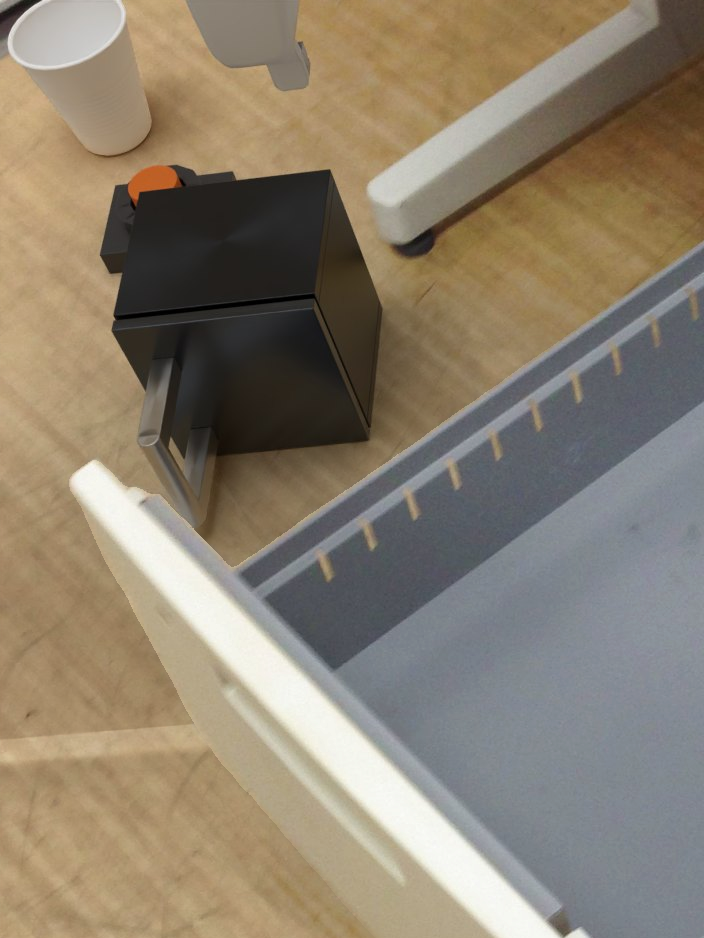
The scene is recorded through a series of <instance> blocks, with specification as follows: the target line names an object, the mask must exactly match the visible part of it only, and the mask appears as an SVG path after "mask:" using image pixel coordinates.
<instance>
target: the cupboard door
mask: <svg viewBox="0 0 704 938" xmlns="http://www.w3.org/2000/svg"><path fill="white" fill-rule="evenodd" d="M110 331H111V333H112V335H113V337H114V338H115V340H116V342H117V344H118V345H119V346H118V347H120V349H121V351H122V353H123V354H124V357H125V358H126V360H127V361H128V363H129V365H130V367H131V368H132V370H133V373H134V374H135V376H136V378H137V380H138V381H139V384H141V387H142V388H143V390H144V392H145V394H144V399H143V404H142V410H141V415H140V420H139V425H138V431H137V435H136V443H137V445H138V447H139V449H140V450H141V453H142V454H143V456H144V457H145V458H146V461H147V463H148V464H149V466H150V467H151V469H152V470H153V472H154V474H155V475H156V477H157V480H158V481H159V482H160V484H161V486H162V487H163V489H164V491H165V492H166V495H167V496H168V498H169V500H170V501H171V503H172V504H173V505H174V508H175V510H176V511H177V513H178V514H179V516H180V518H181V517H183V518H184V519H185V520H186V521H187V522H188V523H189V524H190V525H191V526H192V527H193V528H194V529H195V528H198V527H200V526H202V525H203V524H204V523H205V521H206V520H207V517H208V516H207V514H208V509H209V502H210V496H211V490H212V484H213V477H214V472H215V466H216V459H217V457H219V456H228V455H238V454H248V453H257V452H259V453H260V452H267V451H269V452H270V451H278V450H287V449H298V448H307V447H316V446H317V447H318V446H326V445H328V446H329V445H338V444H347V443H357V442H366V441H369V440H370V432H371V431H370V430H371V429H370V428H369V427H368V425H367V423H366V420H365V418H364V416H363V413H362V411H361V408H360V406H359V404H358V401H357V399H356V396H355V394H354V392H353V389H352V387H351V384H350V382H349V380H348V377H347V375H346V373H345V370H344V368H343V365H342V363H341V361H340V358H339V356H338V353H337V351H336V349H335V346H334V344H333V342H332V339H331V337H330V334H329V332H328V330H327V327H326V325H325V322H324V320H323V318H322V315H321V313H320V310H319V308H318V306H317V303H316V301H315V299H314V298H311V299H302V300H293V301H284V302H275V303H266V304H257V305H248V306H239V307H230V308H221V309H212V310H203V311H194V312H185V313H176V314H167V315H158V316H149V317H140V318H131V319H122V320H115V319H114V320H113V321H112V325H111V330H110ZM171 440H172V442H173V443H174V445H175V446H176V449H177V450H178V453H179V454H180V456H181V457H182V459H183V460H184V462H183V469H181V467H180V466H179V464H178V461H177V460H176V459H175V457H174V454H173V453H172V452H171V450H170V442H171ZM192 527H191V528H192Z"/></svg>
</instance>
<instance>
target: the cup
mask: <svg viewBox="0 0 704 938" xmlns="http://www.w3.org/2000/svg"><path fill="white" fill-rule="evenodd" d="M127 17H128V14H127V8H126V6H125V5H124V3H123V1H122V0H40V1H39V2H36V3H34V5H32V6H31V7H29V8H28V9H27V10H25V11H24V13H22V15H20V16H19V17H18V18H17V19H16V21H15V22H14V24H13V25H12V27H11V29H10V31H9V34H8V36H7V43H6V44H7V51H8V53H9V55H10V57H11V59H12V60H13V61H15V63H17V64H18V65H20V66H21V68H22V69H23V70H24V72H26V74H27V75H28V76H29V78H30V79H31V80H32V81H33V83H34V84H35V85H36V87H37V88H38V89H39V90H40V91H41V93H42V94H43V95H44V97H46V99H47V100H48V101H49V103H50V104H51V105H52V107H53V108H54V109H55V111H56V112H57V113H58V114H59V116H60V117H61V119H63V120H64V121H65V124H67V126H68V127H69V129H70V130H71V131H72V132H73V134H74V136H76V138H77V140H78V141H79V142H80V143H81V144H82V145H83V147H84V148H85V149H86V150H87V151H89V152H90V153H92V154H95V155H100V156H106V157H107V156H118V155H121V154H125V153H128V152H130V151H132V150H134V149H135V148H137V147H139V145H140V144H142V142H143V141H144V140H145V139H146V137H147V136H148V134H149V132H150V131H151V128H152V124H153V120H152V115H151V112H150V108H149V104H148V100H147V97H146V93H145V89H144V84H143V81H142V77H141V73H140V69H139V66H138V62H137V58H136V54H135V51H134V46H133V42H132V38H131V34H130V30H129V26H128V23H127V22H128V21H127Z"/></svg>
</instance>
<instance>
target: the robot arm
mask: <svg viewBox="0 0 704 938" xmlns="http://www.w3.org/2000/svg"><path fill="white" fill-rule="evenodd" d="M184 1H185V4H186V5H187V8H188V10H189V12H190V14H191V16H192V19H193V21H194V23H195V25H196V27H197V29H198V31H199V33H200V35H201V37H202V39H203V42H204V43H205V45H206V47H207V50H209V52H210V54H211V55H212V57H214V59H215V60H216V61H217V62H219V63H220V64H221V65H223V66H224V67H226V68H229V69H244V68H252V67H253V68H254V67H260V66H266V67H267V71H268V72H269V75H270V79H271V81H272V83H273V86H274V88H276V89H277V90H279V91H282V92H290V91H299V90H304V89H306V88H307V87H308V86H309V82H310V76H311V61H310V58H309V57H308V52H307V49H306V46H305V43H304V41H303V40H302V41H297V39H296V37H297V35H296V34H297V27H298V18H299V11H300V2H301V0H184Z"/></svg>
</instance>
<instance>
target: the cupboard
mask: <svg viewBox="0 0 704 938" xmlns="http://www.w3.org/2000/svg"><path fill="white" fill-rule="evenodd" d="M342 199H343V198H342V196H341V193H340V190H339V188H338V186H337V183H336V180H335V178H334V175H333V171H332V170H331V169H330V168H328V169H319V170H318V169H317V170H310V171H303V172H294V173H286V174H278V175H268V176H261V177H252V178H251V177H250V178H243V179H236V180H234V181H226V182H217V183H209V184H201V185H192V186H184V187H176V188H167V189H159V190H151V191H142V192H139V196H138V201H137V206H136V210H135V215H134V220H133V224H132V229H131V234H130V238H129V243H128V248H127V253H126V257H125V262H124V267H123V271H122V273H121V276H120V281H119V282H120V283H119V287H118V291H117V296H116V300H115V303H114V304H115V305H114V308H113V309H114V310H113V315H112V316H113V318H114V320H122V319H131V318H140V317H149V316H158V315H167V314H176V313H185V312H194V311H203V310H212V309H221V308H230V307H239V306H248V305H257V304H266V303H275V302H284V301H293V300H302V299H311V298H314V299H315V301H316V303H317V306H318V308H319V310H320V313H321V315H322V318H323V320H324V322H325V325H326V327H327V330H328V332H329V334H330V337H331V339H332V342H333V344H334V346H335V349H336V351H337V353H338V356H339V358H340V361H341V363H342V365H343V368H344V370H345V373H346V375H347V377H348V380H349V382H350V384H351V387H352V389H353V392H354V394H355V396H356V399H357V401H358V404H359V406H360V408H361V411H362V413H363V416H364V418H365V420H366V423H367V425H368V427H369V429H371V427H372V420H373V419H372V418H373V407H374V396H375V389H376V388H375V387H376V379H377V368H378V359H379V349H380V338H381V328H382V319H383V309H384V308H383V306H382V303H381V300H380V297H379V295H378V291H377V289H376V286H375V284H374V281H373V279H372V276H371V273H370V270H369V268H368V266H367V262H366V260H365V258H364V255H363V252H362V249H361V247H360V243H359V242H358V239H357V235H356V233H355V231H354V229H353V226H352V223H351V221H350V218H349V215H348V212H347V210H346V207H345V205H344V201H343V200H342Z"/></svg>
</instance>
